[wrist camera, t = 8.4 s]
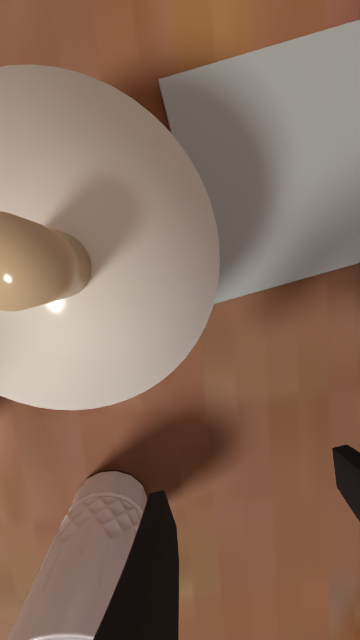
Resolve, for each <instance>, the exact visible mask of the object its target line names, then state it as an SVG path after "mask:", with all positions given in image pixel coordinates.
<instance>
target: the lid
mask: <svg viewBox="0 0 360 640" xmlns="http://www.w3.org/2000/svg"><path fill="white" fill-rule="evenodd" d="M219 269H220V252H219V238H218V232H217V225H216V220H215V216H214V213H213V209H212V206H211V202H210V199H209V196H208V194H207V192H206V189H205V187H204V184H203V182H202V180H201V177H200V175H199V174H198V172H197V170H196V168H195V167H194V165H193V163H192V161H191V160H190V158H189V156H188V155H187V153H186V152H185V151H184V149H183V148H182V147H181V145H180V144H179V143H178V141H177V140H176V139H175V137H174V136H173V135H172V133H171V132H170V131H169V130H168V129H167V128H166V127H165V126H164V125H163V124H162V123H161V122H160V121H159V120H158V119H157V118H156V117H155V116H154V115H153V114H152V113H150V112H149V111H148V110H147V109H145V108H144V107H143V106H142V105H140V104H139V103H138V102H137V101H135V100H134V99H133V98H131V97H129V96H128V95H126V94H124V93H123V92H121V91H119V90H118V89H116V88H114V87H113V86H111V85H109V84H107V83H104V82H102V81H100V80H97V79H95V78H93V77H90V76H88V75H86V74H82V73H78V72H74V71H71V70H67V69H63V68H59V67H51V66H42V65H9V66H3V67H0V396H3V397H5V398H8V399H11V400H13V401H16V402H19V403H23V404H27V405H31V406H35V407H41V408H48V409H55V410H83V409H94V408H99V407H104V406H108V405H113V404H116V403H119V402H122V401H125V400H128V399H130V398H132V397H134V396H136V395H138V394H141V393H143V392H145V391H146V390H148V389H150V388H151V387H153V386H154V385H156V384H157V383H159V382H160V381H162V380H163V379H164V378H165V377H166V376H168V375H169V374H170V373H171V372H172V371H174V370H175V369H176V368H177V366H178V365H179V364H180V363H181V362H182V361H183V360H184V359H185V358H186V357H187V355H188V354H189V353H190V351H191V350H192V348H193V347H194V345H195V344H196V343H197V341H198V339H199V337H200V335H201V334H202V332H203V330H204V328H205V326H206V324H207V321H208V319H209V316H210V313H211V311H212V308H213V305H214V300H215V296H216V292H217V287H218V279H219Z"/></svg>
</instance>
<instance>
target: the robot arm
mask: <svg viewBox="0 0 360 640" xmlns="http://www.w3.org/2000/svg"><path fill="white" fill-rule="evenodd" d="M332 450H333V458H334V467H335V475H336V484H337V488H338V489H339V491H340V492H341V494H342V496H343V497H344V499H345V500H346V502H347V503H348V505H349V506H350V508H351V509H352V511H353V512H354V514H355V515H356V517H357V518H358V520H359V521H360V452H358V451H356V450H355V449H353V448H352V447H350V446H348V445H343V446H339V447H335V448H332ZM178 615H179V556H178V541H177V528H176V524H175V521H174V518H173V515H172V512H171V509H170V506H169V504H168V501H167V498H166V495H165V492H164V490H163V491H159V492H155V493H150V494H149V496H148V498H147V502H146V505H145V508H144V511H143V515H142V518H141V521H140V524H139V527H138V530H137V533H136V535H135V538H134V541H133V544H132V547H131V549H130V552H129V555H128V557H127V560H126V563H125V565H124V568H123V571H122V573H121V576H120V578H119V580H118V583H117V585H116V588H115V590H114V593H113V595H112V598H111V600H110V602H109V605H108V607H107V609H106V612H105V614H104V616H103V619H102V621H101V623H100V625H99V627H98V630H97V632H96V634H95V636H94V638H93V640H178Z"/></svg>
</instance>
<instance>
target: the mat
mask: <svg viewBox="0 0 360 640" xmlns="http://www.w3.org/2000/svg"><path fill="white" fill-rule="evenodd" d="M159 87H160V91H161V95H162V99H163V103H164V107H165V111H166V115H167V119H168V123H169V128H170V132H171V133H172V135H173V136H174V137H175V139H176V140H177V141H178V143H179V144H180V145H181V147H182V148H183V149H184V151H185V152H186V153H187V155H188V156H189V158H190V160H191V161H192V163H193V165H194V167H195V168H196V170H197V172H198V174H199V175H200V177H201V180H202V182H203V184H204V187H205V189H206V192H207V194H208V196H209V199H210V202H211V206H212V209H213V213H214V216H215V220H216V225H217V232H218V238H219V252H220V269H219V279H218V287H217V292H216V296H215V300H214V304H215V303H219V302H222V301H226V300H229V299H233V298H236V297H240V296H244V295H247V294H251V293H254V292H258V291H261V290H265V289H268V288H272V287H276V286H279V285H283V284H286V283H290V282H293V281H297V280H300V279H304V278H308V277H311V276H315V275H318V274H322V273H325V272H329V271H332V270H336V269H340V268H343V267H347V266H350V265H354V264H357V263H360V20H357V21H354V22H350V23H347V24H344V25H340V26H337V27H333V28H330V29H327V30H323V31H320V32H317V33H313V34H310V35H306V36H303V37H300V38H296V39H293V40H290V41H286V42H283V43H279V44H276V45H273V46H269V47H266V48H263V49H259V50H256V51H252V52H249V53H246V54H242V55H239V56H236V57H232V58H229V59H225V60H222V61H219V62H215V63H212V64H209V65H205V66H202V67H198V68H195V69H192V70H188V71H185V72H182V73H178V74H175V75H171V76H168V77H165V78H161V79H159Z"/></svg>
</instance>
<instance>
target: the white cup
mask: <svg viewBox="0 0 360 640" xmlns="http://www.w3.org/2000/svg"><path fill="white" fill-rule="evenodd" d="M146 502H147V496H146V493H145V491H144V488H143V485H142V484H141V483H140V482H138V481H137V480H136V479H135V478H134V477H133V476H131V475H128V474H125V473H121V472H118V471H109V472H100V473H98V474H96V475H94V476H92V477H90V478H88V479H86V480H85V482H84V483H83V484H82V486H81V487H80V488H79V489H78V491H77V493H76V495H75V497H74V500H73V502H72V504H71V506H70V509H69V511H68V513H67V514H66V516H65V518H64V520H63V521H62V523H61V525H60V527H59V529H58V531H57V534H56V536H55V538H54V540H53V542H52V544H51V546H50V548H49V550H48V552H47V554H46V556H45V558H44V560H43V562H42V565H41V567H40V569H39V571H38V573H37V575H36V577H35V580H34V582H33V584H32V586H31V588H30V590H29V592H28V595H27V597H26V599H25V601H24V603H23V605H22V607H21V610H20V612H19V614H18V616H17V618H16V620H15V622H14V624H13V627H12V629H11V631H10V633H9V635H8V637H7V639H6V640H93V638H94V636H95V634H96V632H97V630H98V627H99V625H100V623H101V621H102V619H103V616H104V614H105V612H106V609H107V607H108V605H109V602H110V600H111V598H112V595H113V593H114V590H115V588H116V585H117V583H118V580H119V578H120V576H121V573H122V571H123V568H124V565H125V563H126V560H127V557H128V555H129V552H130V549H131V547H132V544H133V541H134V538H135V535H136V533H137V530H138V527H139V524H140V521H141V518H142V515H143V511H144V508H145V505H146Z"/></svg>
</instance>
